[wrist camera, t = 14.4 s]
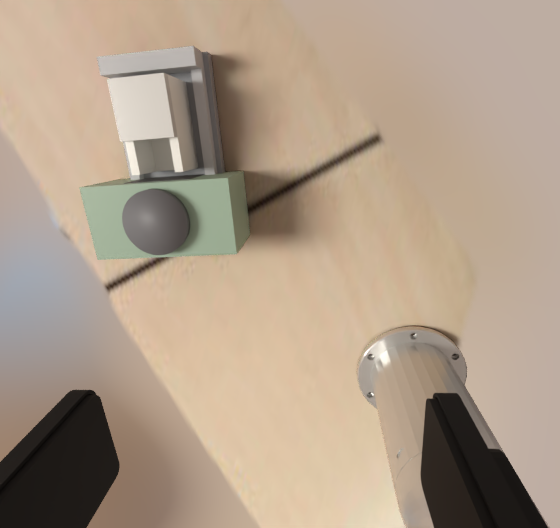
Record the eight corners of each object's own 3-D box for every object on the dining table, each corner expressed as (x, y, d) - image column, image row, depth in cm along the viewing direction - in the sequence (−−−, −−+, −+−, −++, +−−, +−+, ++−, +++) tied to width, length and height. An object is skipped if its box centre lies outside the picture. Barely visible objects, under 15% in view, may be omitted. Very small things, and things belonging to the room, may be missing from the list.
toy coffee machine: (250, 234, 40) (234, 257, 32) (132, 240, 42) (91, 263, 34) (231, 52, 34) (206, 28, 26) (95, 67, 36) (35, 48, 28)
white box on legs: (136, 87, 35) (106, 78, 30) (185, 81, 34) (163, 72, 29) (152, 171, 37) (127, 176, 32) (198, 167, 37) (180, 172, 32)
